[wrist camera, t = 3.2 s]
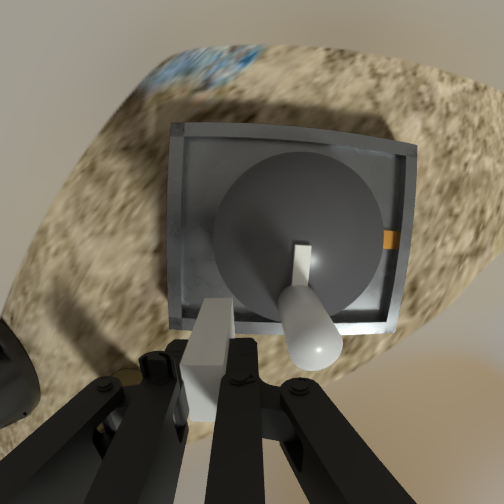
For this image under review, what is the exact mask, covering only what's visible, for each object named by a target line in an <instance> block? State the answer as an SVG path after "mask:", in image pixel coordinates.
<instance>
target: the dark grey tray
mask: <svg viewBox="0 0 504 504" xmlns="http://www.w3.org/2000/svg"><path fill="white" fill-rule="evenodd" d="M288 152H313V153H319V154H322V155H326V156H329V157H332V158H334V159H336V160H338V161H340V162H342V163H344V164H345V165H347V166H348V167H350V168H351V169H352V170H353V171H355V172H356V173H357V174H358V175H359V176H360V177H361V178H362V179H363V180H364V182H365V183H366V184H367V185H368V187H369V188H370V190H371V191H372V193H373V195H374V197H375V199H376V201H377V203H378V206H379V209H380V212H381V215H382V220H383V228H384V244H383V251H382V256H381V259H380V263H379V266H378V268H377V271H376V273H375V275H374V277H373V279H372V280H371V282H370V284H369V285H368V287H367V288H366V289H365V290H364V292H363V293H362V294H361V295H360V296H359V297H358V298H357V299H356V300H355V301H354V302H353V303H352V304H350V305H349V306H348V307H346V308H345V309H343V310H342V311H340V312H338V313H337V314H335V315H332V316H330V318H331V320H332V321H333V323H334V325H335V326H336V328H337V330H338V331H339V333H340V335H349V334H376V333H395V328H396V324H397V320H398V315H399V310H400V305H401V300H402V295H403V290H404V284H405V279H406V273H407V266H408V260H409V253H410V245H411V237H412V228H413V219H414V207H415V194H416V176H417V145H414V144H409V143H405V142H400V141H395V140H389V139H384V138H379V137H373V136H367V135H361V134H354V133H348V132H340V131H333V130H325V129H316V128H307V127H297V126H285V125H271V124H254V123H225V122H184V123H171V129H170V144H169V161H168V185H167V287H168V311H169V329H176V330H189V331H192V330H193V327H194V325H195V322H196V319H197V317H198V314H199V312H200V309H201V306H202V304H203V301H204V298H233V312H234V327H235V333H238V334H266V335H284V330H283V326H282V322H279V321H274V320H271V319H268V318H265V317H263V316H261V315H259V314H257V313H255V312H253V311H252V310H250V309H249V308H247V307H246V306H244V305H243V304H242V303H241V302H240V301H239V300H238V299H237V298H236V297H235V296H234V295H233V294H232V293H231V291H230V290H229V289H228V287H227V286H226V284H225V282H224V281H223V279H222V277H221V275H220V272H219V270H218V267H217V264H216V261H215V255H214V250H213V231H214V223H215V219H216V215H217V212H218V209H219V207H220V204H221V202H222V200H223V198H224V196H225V194H226V193H227V191H228V190H229V188H230V187H231V186H232V184H233V183H234V182H235V181H236V180H237V179H238V178H239V177H240V176H241V175H242V174H243V173H244V172H245V171H247V170H248V169H249V168H250V167H252V166H253V165H255V164H257V163H259V162H260V161H262V160H264V159H267V158H269V157H272V156H275V155H279V154H282V153H288Z"/></svg>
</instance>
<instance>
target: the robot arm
mask: <svg viewBox="0 0 504 504" xmlns="http://www.w3.org/2000/svg"><path fill="white" fill-rule="evenodd" d="M138 360H139V364H140V368H141V372H142V376H143V379H142V381H141V383H140V384H137V385H130V386H122V382H121V381H120V380H119V379H118V378H116V377H111V376H104V377H100V378H97V379H95V380H94V381H92V382H91V383H90V384H88V385H87V386H86V387H85V388H84V389H83V390H81V391H80V392H79V393H78V394H77V395H76V396H74V397H73V398H72V399H71V400H70V401H69V402H68V403H66V404H65V405H64V406H63V407H62V408H61V409H59V410H58V411H57V412H56V413H55V414H54V415H53V416H51V417H50V418H49V419H48V420H47V421H46V422H44V423H43V424H42V425H41V426H40V427H39V428H38V429H36V430H35V431H34V432H33V433H32V434H31V435H29V436H28V437H27V438H26V439H25V440H24V441H23V442H21V443H20V444H19V445H18V446H17V447H16V448H15V449H13V450H12V451H11V452H10V453H9V454H8V455H7V456H5V457H4V458H3V459H2V460H1V461H0V504H173V502H174V497H175V492H176V487H177V483H178V478H179V473H180V468H181V464H182V459H183V454H184V449H185V445H186V441H187V436H188V431H189V428H188V422H187V418H188V414H189V415H190V420H191V421H195V422H215V426H214V433H213V440H212V449H211V456H210V464H209V471H208V479H207V487H206V495H205V503H204V504H265V490H264V471H263V470H264V469H263V448H262V438H265V439H271V440H276V441H279V442H280V446H281V448H282V450H283V452H284V454H285V456H286V458H287V460H288V462H289V464H290V466H291V468H292V470H293V472H294V474H295V476H296V478H297V480H298V482H299V484H300V486H301V488H302V489H303V492H304V493H305V495H306V497H307V499H308V501H309V503H310V504H417V503H416V502H415V501H414V500H413V499H412V498H411V496H410V495H409V494H408V493H407V492H406V491H405V489H404V488H403V487H402V486H401V485H400V484H399V482H398V481H397V480H396V479H395V478H394V477H393V475H392V474H391V473H390V472H389V471H388V469H387V468H386V467H385V466H384V465H383V463H382V462H381V461H380V460H379V459H378V458H377V456H376V455H375V454H374V453H373V451H372V450H371V449H370V448H369V447H368V446H367V444H366V443H365V442H364V440H363V439H362V438H361V437H360V436H359V434H358V433H357V432H356V431H355V429H354V428H353V427H352V426H351V424H350V423H349V422H348V421H347V420H346V418H345V417H344V416H343V414H342V413H341V412H340V411H339V410H338V408H337V407H336V406H335V405H334V403H333V402H332V401H331V400H330V398H329V397H328V396H327V394H326V393H325V392H324V391H323V389H322V388H321V387H320V386H319V384H318V383H316V382H315V381H314V380H311V379H308V378H301V377H299V378H292V379H289V380H286V381H285V382H284V383H283V384H282V385H281V387H278V386H273V385H269V384H267V383H265V382H263V381H262V380H261V379H260V377H259V371H258V352H257V342H256V341H255V340H254V339H253V338H235V327H234V312H233V298H204V301H203V304H202V306H201V309H200V312H199V314H198V317H197V319H196V322H195V325H194V327H193V330H192V333H191V335H190V338H189V340H187V339H175V340H173V341H172V342H171V343H169V344H168V345H167V347H166V349H165V351H152V352H148V353H146V354H144V355H142V356H141V357H140V358H139V359H138ZM39 401H40V386H39V381H38V378H37V375H36V372H35V370H34V368H33V365H32V363H31V361H30V359H29V358H28V356H27V354H26V352H25V351H24V349H23V347H22V346H21V344H20V343H19V342H18V340H17V339H16V337H15V336H14V335H13V334H12V332H11V331H10V330H9V329H8V328H7V327H6V326H5V325H4V324H3V323H2V322H1V321H0V429H2V428H4V427H6V426H8V425H11V424H13V423H15V422H17V421H18V420H20V419H23V418H25V417H27V416H28V415H30V414H31V412H32V411H33V410H34V409H35V408H36V406H37V405H38V404H39ZM101 423H102V425H103V428H102V429H101V430H100V431H98V430H97V427H98V426H99V425H100V424H101Z"/></svg>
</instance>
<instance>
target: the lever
mask: <svg viewBox="0 0 504 504" xmlns="http://www.w3.org/2000/svg"><path fill="white" fill-rule="evenodd" d="M383 244H384V228H383V220H382V215H381V212H380V209H379V206H378V203H377V201H376V199H375V197H374V195H373V193H372V191H371V190H370V188H369V187H368V185H367V184H366V183H365V182H364V180H363V179H362V178H361V177H360V176H359V175H358V174H357V173H356V172H355V171H353V170H352V169H351V168H350V167H348V166H347V165H345V164H344V163H342V162H340V161H338V160H336V159H334V158H332V157H329V156H326V155H322V154H319V153H313V152H288V153H282V154H279V155H275V156H272V157H269V158H267V159H264V160H262V161H260V162H259V163H257V164H255V165H253V166H252V167H250V168H249V169H248V170H247V171H245V172H244V173H243V174H242V175H241V176H240V177H239V178H238V179H237V180H236V181H235V182H234V183H233V184H232V186H231V187H230V188H229V190H228V191H227V193H226V194H225V196H224V198H223V200H222V202H221V204H220V207H219V209H218V212H217V215H216V219H215V223H214V231H213V250H214V255H215V261H216V264H217V267H218V270H219V272H220V275H221V277H222V279H223V281H224V282H225V284H226V286H227V287H228V289H229V290H230V291H231V293H232V294H233V295H234V296H235V297H236V298H237V299H238V300H239V301H240V302H241V303H242V304H243V305H244V306H246V307H247V308H249V309H250V310H252V311H253V312H255V313H257V314H259V315H261V316H263V317H265V318H268V319H271V320H274V321H279V322H282V326H283V330H284V335H285V339H286V343H287V347H288V351H289V355H290V358H291V360H292V362H293V363H294V364H295V365H296V366H297V367H299V368H301V369H303V370H307V371H317V370H321V369H324V368H326V367H328V366H330V365H331V364H332V363H334V362H335V361H336V360H337V358H338V357H339V355H340V353H341V351H342V347H343V341H342V337H341V335H340V333H339V331H338V330H337V328H336V326H335V325H334V323H333V321H332V320H331V318H330V316H332V315H335V314H337V313H338V312H340V311H342V310H343V309H345V308H346V307H348V306H349V305H350V304H352V303H353V302H354V301H355V300H356V299H357V298H358V297H359V296H360V295H361V294H362V293H363V292H364V290H365V289H366V288H367V287H368V285H369V284H370V282H371V280H372V279H373V277H374V275H375V273H376V271H377V268H378V266H379V263H380V259H381V256H382V251H383Z"/></svg>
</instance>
